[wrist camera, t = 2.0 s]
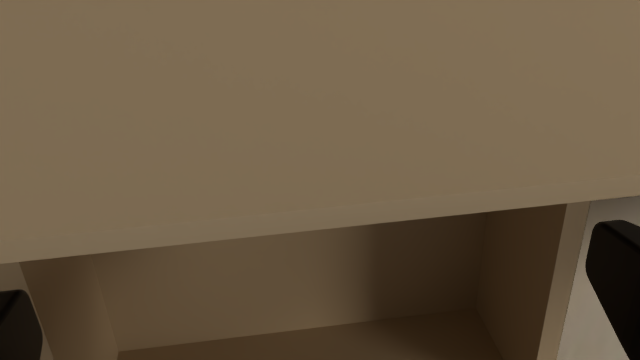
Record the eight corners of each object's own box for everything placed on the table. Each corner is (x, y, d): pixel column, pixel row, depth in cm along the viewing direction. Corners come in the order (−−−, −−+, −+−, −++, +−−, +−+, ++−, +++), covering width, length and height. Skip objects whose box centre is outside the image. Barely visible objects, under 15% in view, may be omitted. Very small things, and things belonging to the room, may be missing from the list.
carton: (535, -97, 16) (651, -74, 11) (484, 307, 23) (543, 416, 18) (-18, -65, 14) (-125, -25, 10) (107, 353, 21) (76, 482, 17)
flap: (612, -71, 11) (621, -92, 11) (840, 174, 7) (864, 151, 7) (-77, -28, 10) (-88, -50, 10) (-252, 290, 6) (-282, 269, 6)
